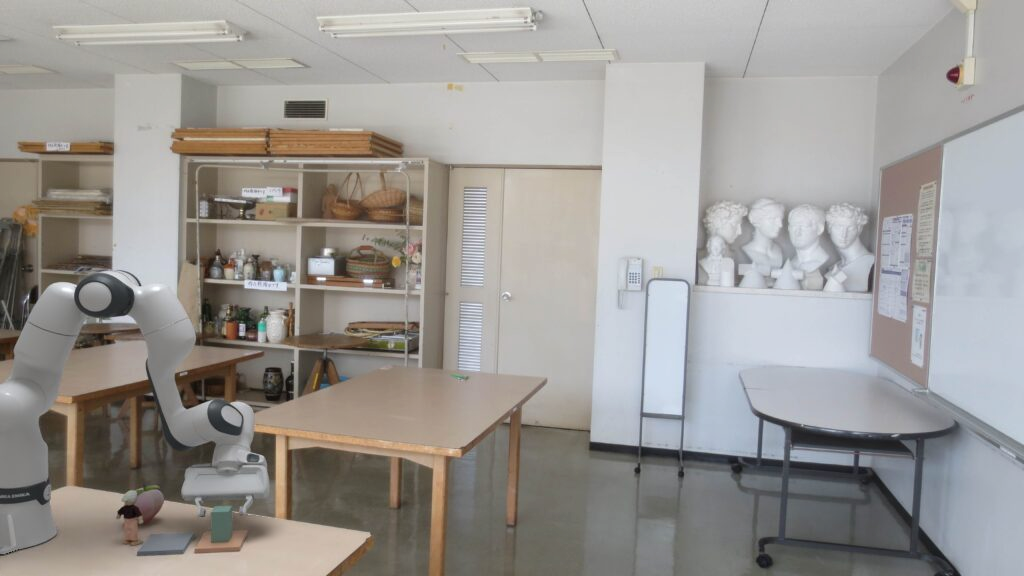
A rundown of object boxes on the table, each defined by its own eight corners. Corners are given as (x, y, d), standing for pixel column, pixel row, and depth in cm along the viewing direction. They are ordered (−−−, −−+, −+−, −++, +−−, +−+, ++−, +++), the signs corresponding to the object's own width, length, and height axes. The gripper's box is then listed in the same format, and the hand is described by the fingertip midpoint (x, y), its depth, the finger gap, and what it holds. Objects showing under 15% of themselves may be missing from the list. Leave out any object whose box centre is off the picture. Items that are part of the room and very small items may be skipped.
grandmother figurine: (150, 539, 173) (150, 488, 172) (140, 546, 169) (140, 494, 168) (120, 537, 173) (120, 486, 172) (110, 544, 170) (109, 492, 169)
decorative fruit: (143, 514, 188) (143, 477, 188) (169, 517, 186) (169, 480, 186) (115, 527, 179) (115, 488, 179) (142, 531, 177) (142, 492, 176)
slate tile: (136, 555, 164) (136, 551, 164) (151, 537, 174) (151, 533, 174) (183, 553, 166) (183, 549, 166) (194, 535, 175) (194, 532, 175)
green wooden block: (211, 542, 169) (210, 512, 169) (215, 535, 173) (214, 505, 173) (228, 542, 170) (228, 511, 170) (232, 535, 174) (232, 505, 174)
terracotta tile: (194, 553, 166) (194, 549, 166) (205, 535, 176) (205, 531, 176) (239, 551, 168) (239, 546, 168) (247, 533, 178) (247, 529, 177)
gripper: (184, 458, 176) (172, 511, 167) (270, 456, 180) (263, 508, 171) (189, 470, 181) (178, 522, 172) (273, 467, 184) (266, 519, 175)
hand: (221, 515), depth 171 cm, fingers open, 8 cm apart
